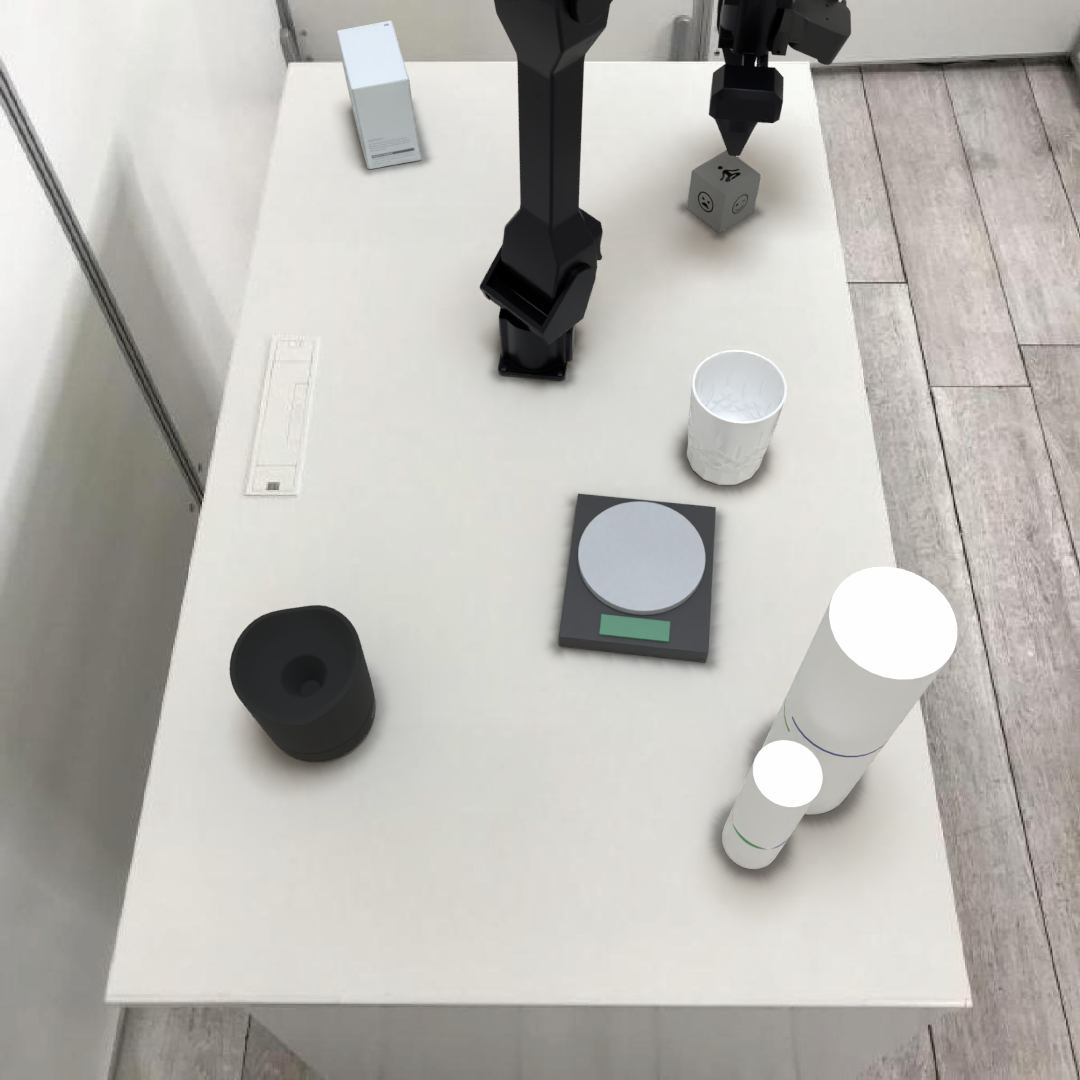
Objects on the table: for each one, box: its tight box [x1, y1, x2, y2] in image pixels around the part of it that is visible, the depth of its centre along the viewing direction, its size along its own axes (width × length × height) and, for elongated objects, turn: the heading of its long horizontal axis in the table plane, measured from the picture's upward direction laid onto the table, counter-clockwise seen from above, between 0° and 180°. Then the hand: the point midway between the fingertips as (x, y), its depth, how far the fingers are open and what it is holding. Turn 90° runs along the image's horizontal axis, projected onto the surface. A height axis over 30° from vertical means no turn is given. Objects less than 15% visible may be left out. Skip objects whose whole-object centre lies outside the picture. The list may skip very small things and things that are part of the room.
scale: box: [558, 493, 717, 663], centre depth 89 cm, size 12×14×3 cm
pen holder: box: [228, 604, 376, 763], centre depth 80 cm, size 9×9×10 cm
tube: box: [721, 740, 823, 870], centre depth 73 cm, size 4×4×15 cm
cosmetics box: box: [336, 19, 423, 170], centre depth 116 cm, size 10×6×10 cm, turn 14°
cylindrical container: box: [761, 566, 958, 815], centre depth 71 cm, size 7×7×25 cm
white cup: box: [686, 349, 788, 486], centre depth 93 cm, size 8×8×10 cm
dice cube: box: [686, 149, 762, 235], centre depth 112 cm, size 5×5×5 cm
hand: (736, 123), depth 104 cm, fingers open, 9 cm apart
